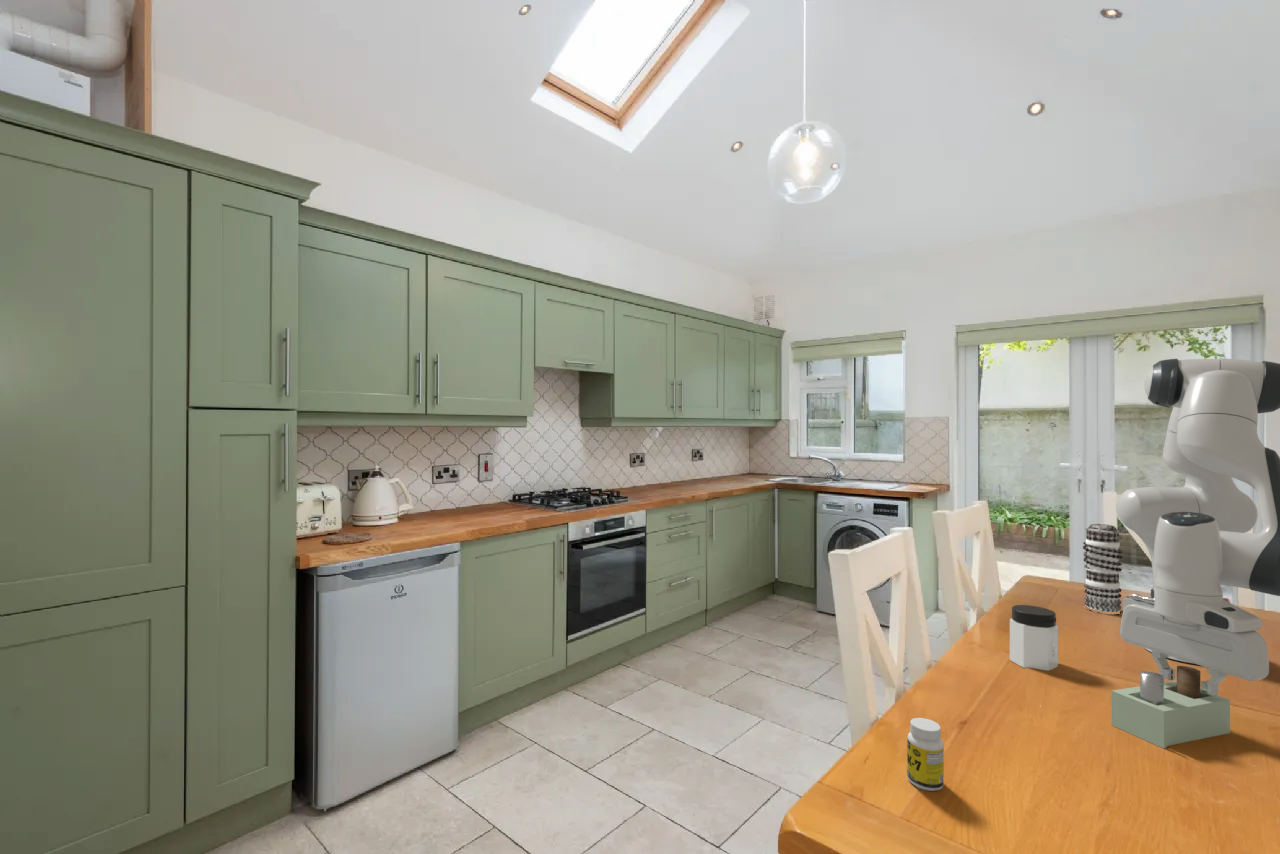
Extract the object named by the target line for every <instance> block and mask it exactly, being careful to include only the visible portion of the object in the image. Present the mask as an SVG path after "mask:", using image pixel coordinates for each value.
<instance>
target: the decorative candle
mask: <svg viewBox="0 0 1280 854" xmlns="http://www.w3.org/2000/svg"><path fill="white" fill-rule="evenodd" d="M1085 530H1086V531H1085V532H1086V533H1085V534H1086V535H1085V536H1086V537H1085V541H1084V542H1082V544H1083V546H1082V549H1083V550H1084V551H1085V552H1083V561H1084V562H1085V564H1083V565H1084V566H1083V568H1084V569H1085V570H1086V572H1085V573H1086V574H1085V575H1086V577H1085V584H1084V586H1083V587H1084V588H1085V589H1084V591H1083V592H1084V593H1086V594H1085V595H1084V596H1083V598H1084V602H1083V604H1084V605H1085V606H1087V607H1088V608H1090V609H1093V610H1097V611H1102V612H1118V611H1121V610H1122V609H1123V606H1121V605H1122V604H1123V600H1121V598H1122V594H1121V593H1122V589H1121V588H1120V587H1121V586H1120V585H1121V582H1120V574H1121V573H1122V570H1123V569H1122V568H1121V567H1120V566H1122V564H1123V563H1122V562H1120V561H1119V560H1121V559H1123V556H1121V554H1122V553H1123V551H1122V550H1121V549H1120V545H1121V544H1120V543H1121V542H1120V535H1119V534H1120V533H1121V531H1119V530H1118V529H1117V527H1116V526H1114V525H1112V524H1104V523H1103V524H1102V523H1091V524H1090V525H1089V526H1088V527H1087V528H1085Z"/></svg>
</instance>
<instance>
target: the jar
mask: <svg viewBox="0 0 1280 854" xmlns="http://www.w3.org/2000/svg"><path fill="white" fill-rule="evenodd" d="M1056 623H1057V615H1056V612H1055V611H1053V610H1051V609H1048V608H1044V607H1042V606H1035V605H1029V604H1027V605H1026V604H1016V605H1013V606H1012V607H1011V618H1010V619H1009V661H1010V662H1013V663H1014V664H1015V665H1018V666H1020V667H1021V668H1023V669H1036V670H1041V671H1046V672H1047V671H1048V672H1049V671H1051V670H1053V669H1055V668H1057V667H1059V625H1058V624H1056Z"/></svg>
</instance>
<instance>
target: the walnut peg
mask: <svg viewBox="0 0 1280 854" xmlns="http://www.w3.org/2000/svg"><path fill="white" fill-rule="evenodd" d="M1176 681H1177V693H1179V694H1182V695H1184V696H1187V697H1190V698H1193V699H1198V698H1200V689H1201V670H1200V669H1197V668H1195V667H1191V666H1187V665H1185V666H1184V665H1177V666H1176Z"/></svg>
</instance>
